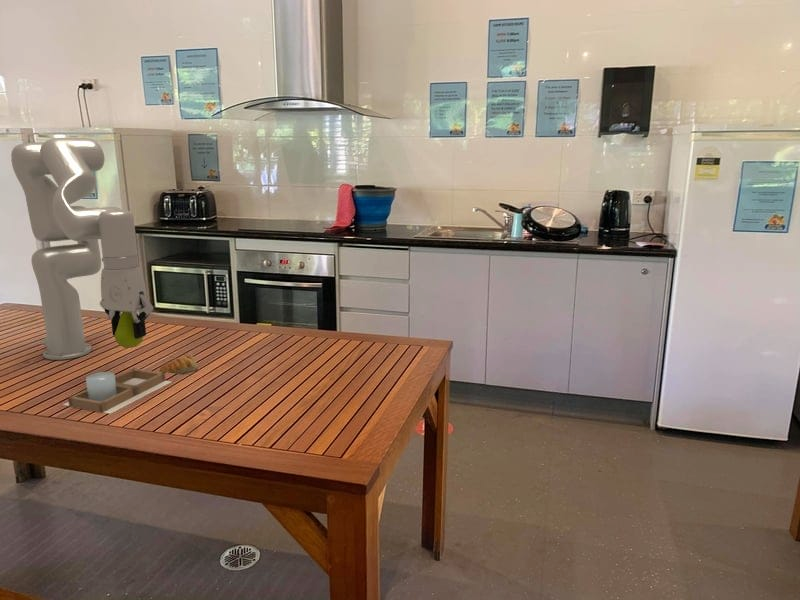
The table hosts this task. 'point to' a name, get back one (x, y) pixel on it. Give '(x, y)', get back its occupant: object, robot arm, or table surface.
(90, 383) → the pale blue rounded block
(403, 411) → the table surface
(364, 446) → the table surface
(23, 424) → the table surface
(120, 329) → the fruit
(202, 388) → the table surface
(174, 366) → the pastry
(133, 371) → the tray
